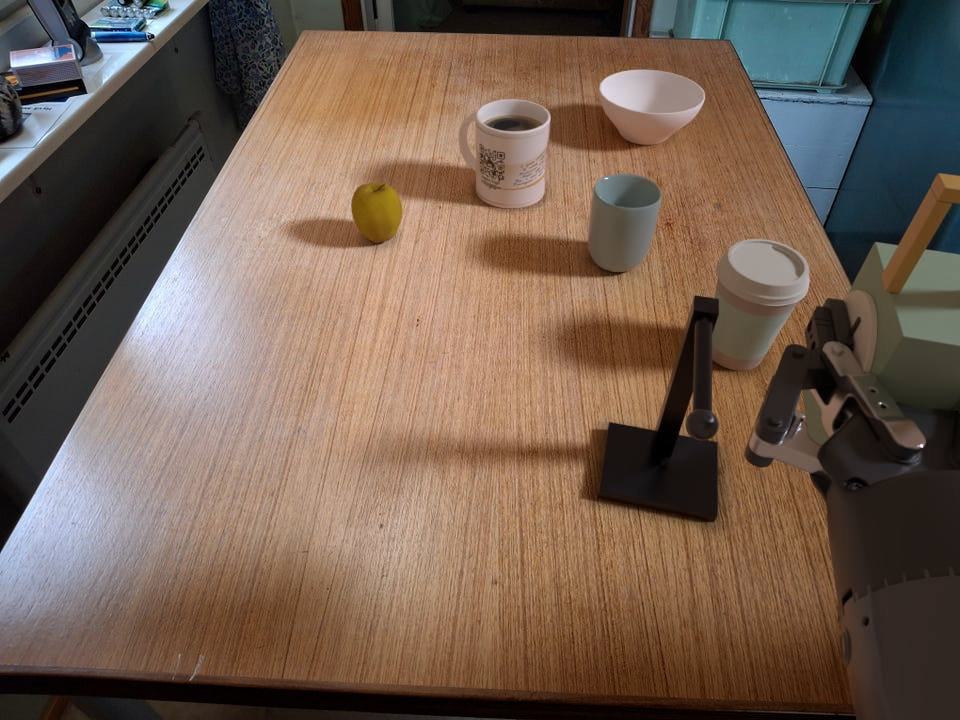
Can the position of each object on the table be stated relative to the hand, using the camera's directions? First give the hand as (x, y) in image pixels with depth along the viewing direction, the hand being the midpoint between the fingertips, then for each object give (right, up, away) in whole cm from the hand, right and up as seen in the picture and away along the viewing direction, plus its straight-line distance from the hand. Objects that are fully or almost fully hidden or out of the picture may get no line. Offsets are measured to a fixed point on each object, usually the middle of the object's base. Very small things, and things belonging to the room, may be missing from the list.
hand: (879, 320), depth 35 cm
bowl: (+6, +34, +73) cm, 81 cm away
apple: (-33, +14, +53) cm, 64 cm away
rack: (-5, -14, +24) cm, 29 cm away
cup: (-4, +10, +49) cm, 50 cm away
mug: (-17, +23, +62) cm, 68 cm away
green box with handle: (-1, -6, +2) cm, 7 cm away
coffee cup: (+7, -1, +38) cm, 38 cm away
